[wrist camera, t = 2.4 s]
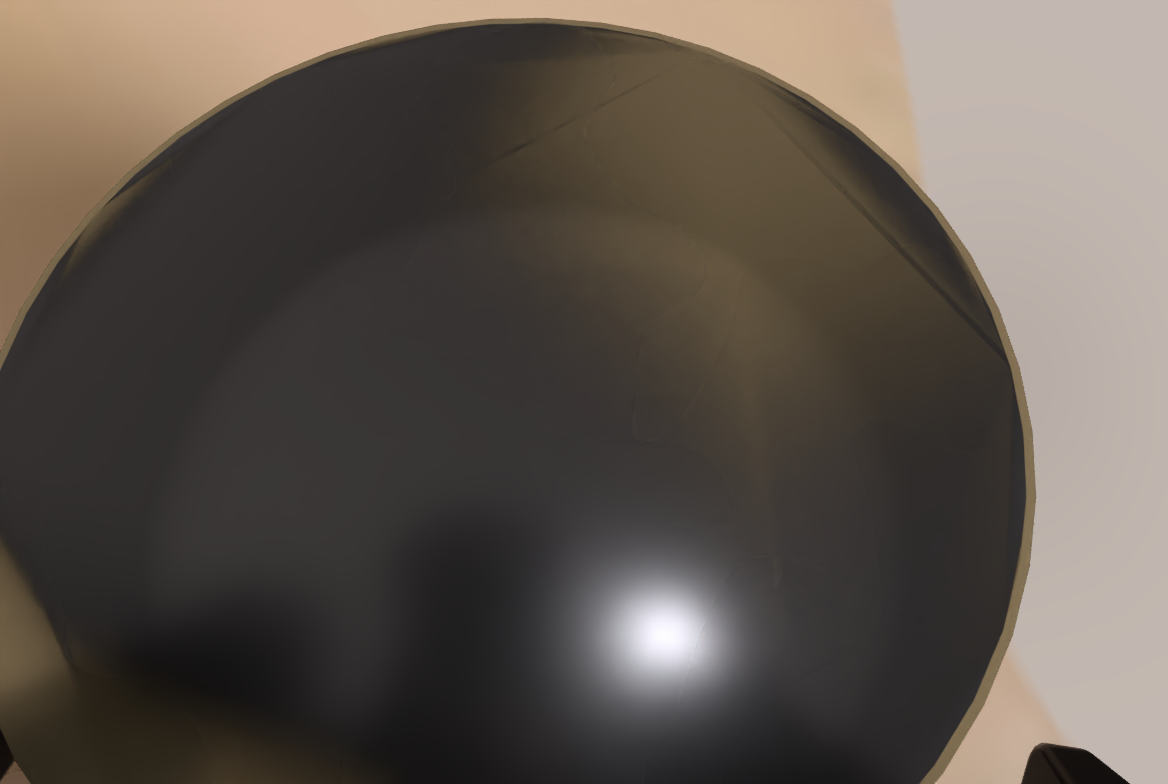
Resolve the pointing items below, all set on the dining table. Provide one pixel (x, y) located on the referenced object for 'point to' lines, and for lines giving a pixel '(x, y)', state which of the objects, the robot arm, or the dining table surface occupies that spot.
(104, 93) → the dining table surface
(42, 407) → the tea tin
